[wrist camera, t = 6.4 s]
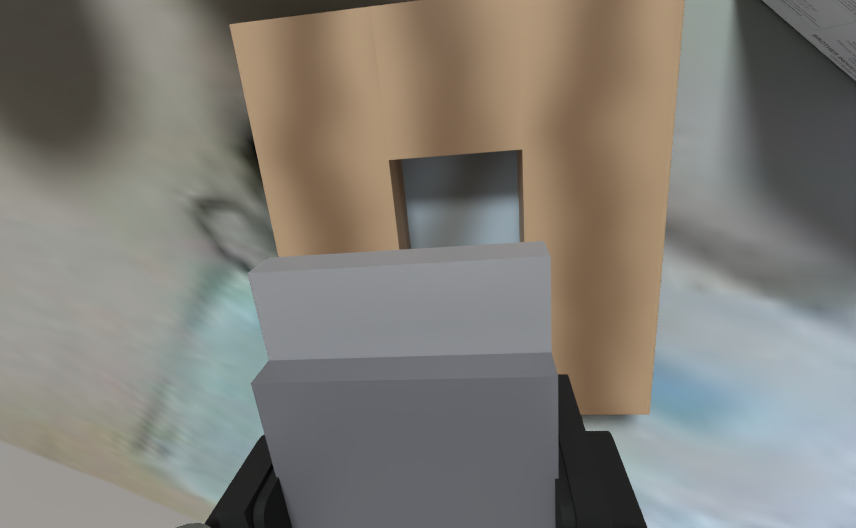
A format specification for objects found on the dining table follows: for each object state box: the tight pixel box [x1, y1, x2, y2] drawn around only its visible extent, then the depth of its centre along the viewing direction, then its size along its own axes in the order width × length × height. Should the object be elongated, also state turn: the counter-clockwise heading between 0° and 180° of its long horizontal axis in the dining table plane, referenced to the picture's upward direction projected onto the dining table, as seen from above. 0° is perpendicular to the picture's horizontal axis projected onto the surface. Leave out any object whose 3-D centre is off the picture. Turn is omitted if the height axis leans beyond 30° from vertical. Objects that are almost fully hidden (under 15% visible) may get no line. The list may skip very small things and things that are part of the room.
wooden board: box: [229, 0, 685, 415], centre depth 26 cm, size 20×22×4 cm
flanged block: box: [248, 241, 559, 528], centre depth 11 cm, size 5×10×5 cm, turn 6°
